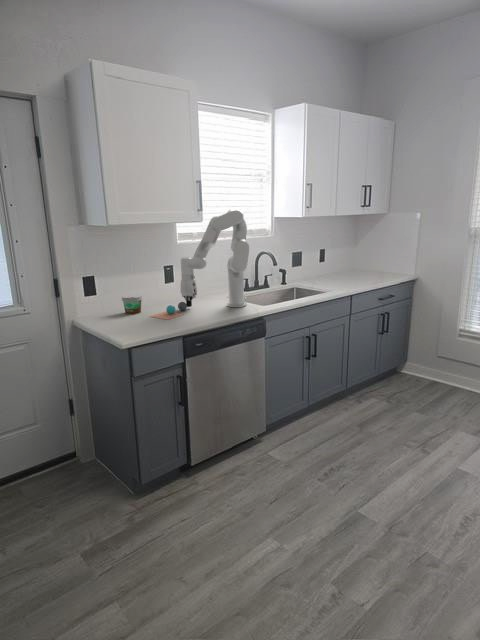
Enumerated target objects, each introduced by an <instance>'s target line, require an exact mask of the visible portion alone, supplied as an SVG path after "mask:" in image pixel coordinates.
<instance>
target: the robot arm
mask: <svg viewBox="0 0 480 640" xmlns="http://www.w3.org/2000/svg"><path fill="white" fill-rule="evenodd" d="M244 217H245V216H244V213H243V211H242V210H240V209H238V208H231V209H228V211H226V213H223V214H222V215H221V214H220V215H218V216H213V217H212V218H210V220H209V222H208V225H207V227H206V229H205V232H204V234H203V237H202V238H201V240H200V242H199V244H198V246H197V248H196V250H195V252H194V254H193V256H192V257H191V256H184V257H182V258H181V259H180V271H181V272H180V273H181V280H180V294H181V297H182V298H184V300H185V301H186V302H185V303H186V304H187V308H190V307H191V308H192V306H193V304H192V302H193V299H196V298H197V295H198V289H197V288H198V287H197V282H196V278H195V274H194V273H195V271H194V270H203V269H205V268H206V267H207V260H206V258H207V256H208V253H209V252H210V251H211V249H212V248H213V247H215V245H216V243H217V240H218V238H219V236H220V234H221V233H222V231H224V230H227V229H229V228H230V229H231V227H232V237H231V243H230V249H231V251H232V253H233V255H232V256H231V257H229V258H228V260H227V265H226V266H227V274H228V275H227V277H228V302H227V303H226V306H227V307H229V308H242V307H245V306H247V302H245V301H247V300H248V297H244V293H245V292H244V290H245V289H244V280H245V279H244V273H245V271H246V269H247V266H248V262H249V257H250V255H249V254H250V246H249V245H250V244H249V243H248V241H247V232H248V227H247V223H246V219H245V218H244Z"/></svg>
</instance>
